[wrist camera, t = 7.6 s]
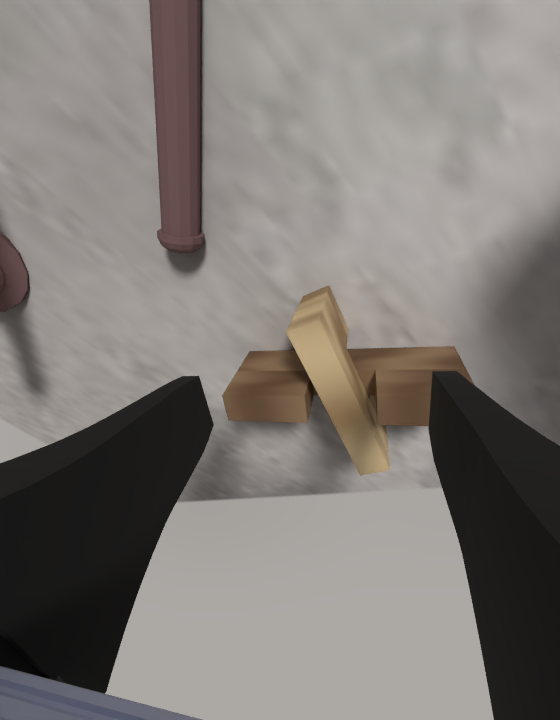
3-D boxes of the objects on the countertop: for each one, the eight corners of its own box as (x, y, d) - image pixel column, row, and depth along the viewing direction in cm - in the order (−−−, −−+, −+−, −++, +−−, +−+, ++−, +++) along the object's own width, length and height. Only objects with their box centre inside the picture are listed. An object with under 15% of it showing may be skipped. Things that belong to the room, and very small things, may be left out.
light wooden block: (303, 296, 19) (286, 332, 15) (329, 285, 19) (319, 319, 14) (360, 417, 22) (360, 475, 18) (384, 411, 22) (390, 469, 18)
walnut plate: (454, 346, 19) (481, 398, 15) (451, 371, 20) (476, 427, 15) (249, 351, 22) (222, 395, 17) (253, 372, 22) (228, 420, 18)
